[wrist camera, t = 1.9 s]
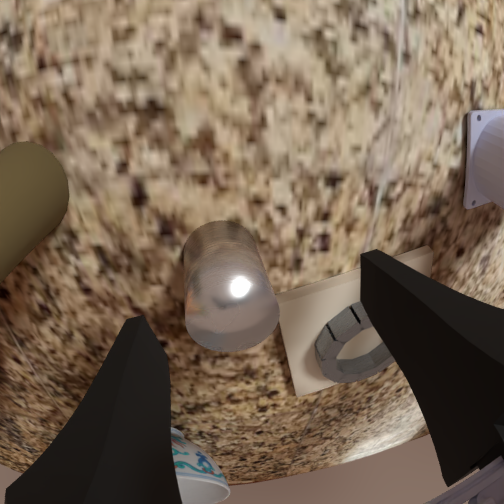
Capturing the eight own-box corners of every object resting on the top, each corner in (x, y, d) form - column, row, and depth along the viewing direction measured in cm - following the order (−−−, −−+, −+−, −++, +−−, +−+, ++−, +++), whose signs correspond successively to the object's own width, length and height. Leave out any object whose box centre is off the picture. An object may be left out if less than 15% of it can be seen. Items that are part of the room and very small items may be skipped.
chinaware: (184, 465, 37) (190, 513, 31) (79, 441, 30) (75, 494, 24) (245, 421, 32) (259, 483, 25) (111, 387, 25) (106, 463, 19)
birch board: (427, 244, 23) (434, 251, 22) (409, 346, 30) (414, 352, 29) (272, 295, 23) (275, 305, 22) (294, 389, 30) (296, 397, 29)
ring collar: (408, 283, 23) (420, 297, 22) (398, 347, 28) (406, 360, 27) (310, 317, 23) (318, 335, 22) (318, 378, 28) (324, 393, 26)
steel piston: (247, 211, 19) (270, 270, 14) (262, 271, 21) (286, 337, 16) (173, 233, 19) (171, 298, 14) (196, 290, 21) (203, 360, 16)
